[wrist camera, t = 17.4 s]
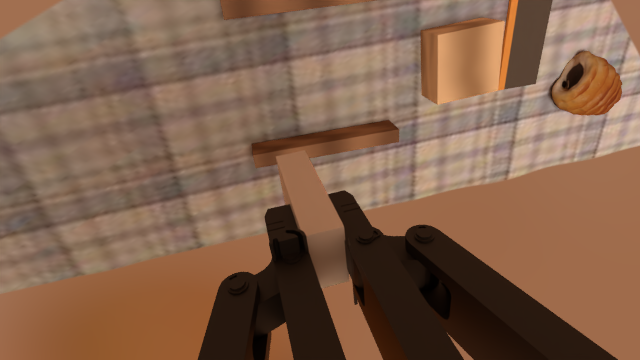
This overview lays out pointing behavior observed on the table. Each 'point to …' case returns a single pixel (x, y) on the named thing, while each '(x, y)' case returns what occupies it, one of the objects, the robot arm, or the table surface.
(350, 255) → the robot arm
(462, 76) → the block
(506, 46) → the pad
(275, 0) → the lane
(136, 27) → the table surface
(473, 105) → the table surface
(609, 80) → the pastry
